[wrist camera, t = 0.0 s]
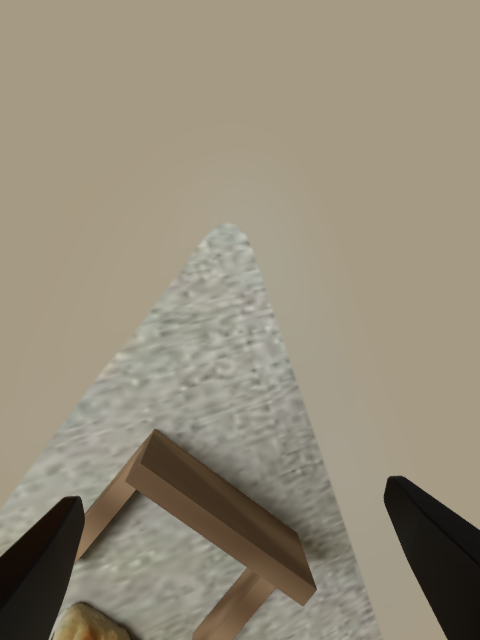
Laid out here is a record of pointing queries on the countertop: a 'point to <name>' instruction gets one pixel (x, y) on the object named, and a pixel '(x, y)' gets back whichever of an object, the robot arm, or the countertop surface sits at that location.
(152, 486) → the frame
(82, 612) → the pastry
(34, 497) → the countertop surface
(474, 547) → the robot arm
